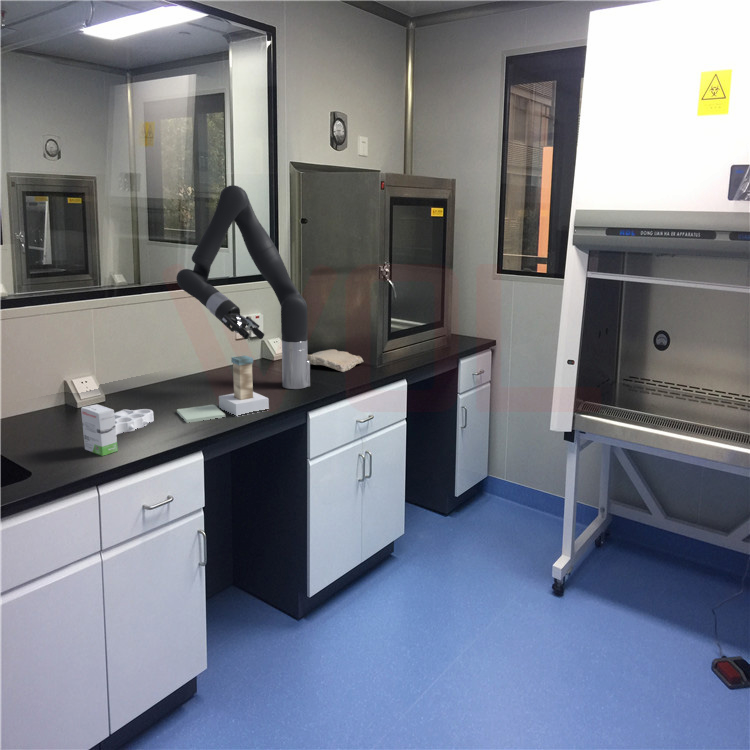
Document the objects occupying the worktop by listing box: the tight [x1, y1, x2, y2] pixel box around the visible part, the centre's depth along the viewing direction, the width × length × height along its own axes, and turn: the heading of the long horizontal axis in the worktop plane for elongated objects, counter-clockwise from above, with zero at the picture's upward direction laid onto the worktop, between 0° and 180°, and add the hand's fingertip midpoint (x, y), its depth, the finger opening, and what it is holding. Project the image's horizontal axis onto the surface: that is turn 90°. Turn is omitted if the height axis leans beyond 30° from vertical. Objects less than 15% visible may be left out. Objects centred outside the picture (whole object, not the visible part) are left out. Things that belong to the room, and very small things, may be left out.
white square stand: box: [218, 391, 270, 417], centre depth 217 cm, size 12×12×4 cm
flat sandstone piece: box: [308, 348, 364, 373], centre depth 278 cm, size 24×8×20 cm
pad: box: [176, 404, 226, 424], centre depth 210 cm, size 12×12×1 cm
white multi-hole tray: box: [114, 408, 155, 436], centre depth 199 cm, size 3×18×15 cm
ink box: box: [80, 403, 119, 457], centre depth 177 cm, size 9×5×12 cm, turn 53°
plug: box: [230, 355, 254, 400], centre depth 215 cm, size 5×5×17 cm
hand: (255, 337), depth 223 cm, fingers open, 8 cm apart
